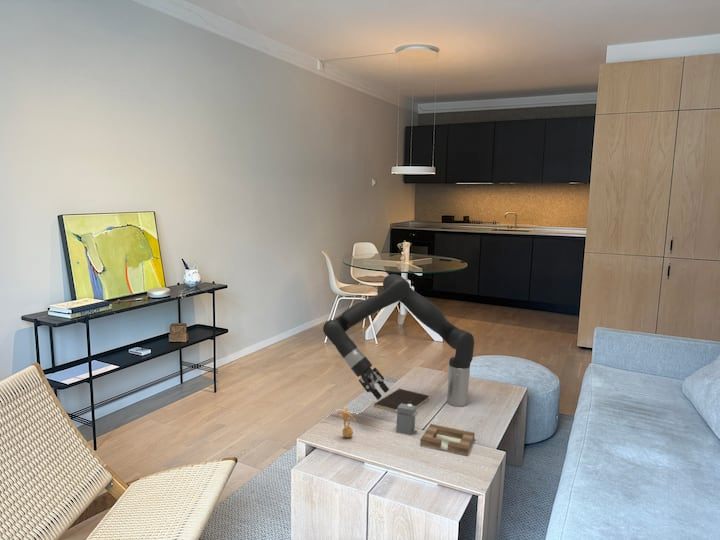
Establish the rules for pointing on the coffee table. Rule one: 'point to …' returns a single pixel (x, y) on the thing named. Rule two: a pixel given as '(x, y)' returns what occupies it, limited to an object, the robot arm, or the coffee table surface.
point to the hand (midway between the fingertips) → (383, 394)
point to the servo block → (406, 418)
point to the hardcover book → (401, 400)
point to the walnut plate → (447, 439)
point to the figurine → (347, 430)
